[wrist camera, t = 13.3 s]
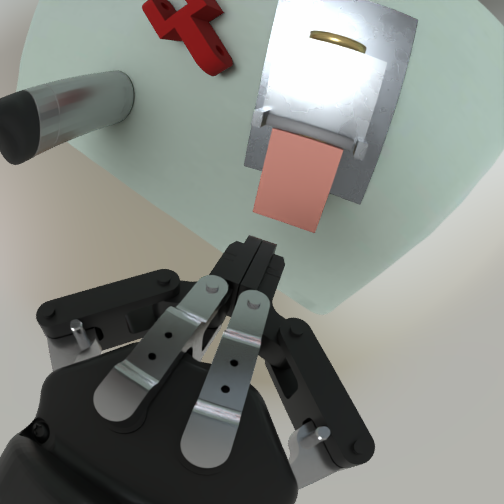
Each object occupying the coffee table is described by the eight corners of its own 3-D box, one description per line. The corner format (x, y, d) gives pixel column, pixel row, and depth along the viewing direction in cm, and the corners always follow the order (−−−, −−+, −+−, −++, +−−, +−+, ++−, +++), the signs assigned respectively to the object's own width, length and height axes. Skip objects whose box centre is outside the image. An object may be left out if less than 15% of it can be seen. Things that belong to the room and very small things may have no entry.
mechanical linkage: (159, 6, 24) (137, 1, 20) (198, -23, 21) (179, -33, 17) (207, 85, 31) (188, 86, 27) (253, 58, 27) (239, 54, 23)
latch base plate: (244, 165, 36) (204, 200, 26) (283, -17, 19) (252, -57, 10) (360, 203, 33) (362, 255, 24) (417, 20, 17) (449, -7, 8)
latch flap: (249, 206, 26) (246, 210, 25) (271, 113, 21) (268, 114, 20) (321, 231, 25) (320, 235, 24) (353, 139, 20) (354, 140, 19)
